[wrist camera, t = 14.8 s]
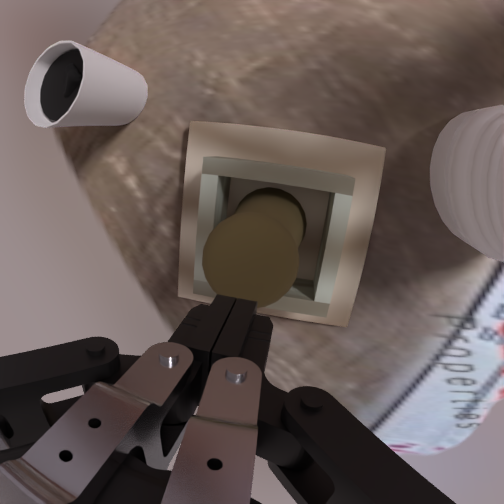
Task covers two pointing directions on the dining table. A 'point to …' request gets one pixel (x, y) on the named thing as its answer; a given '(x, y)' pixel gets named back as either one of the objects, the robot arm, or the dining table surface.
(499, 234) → the honey pot
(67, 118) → the white cup
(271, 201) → the brown rounded tapered piece
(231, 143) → the stand
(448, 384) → the dining table surface
